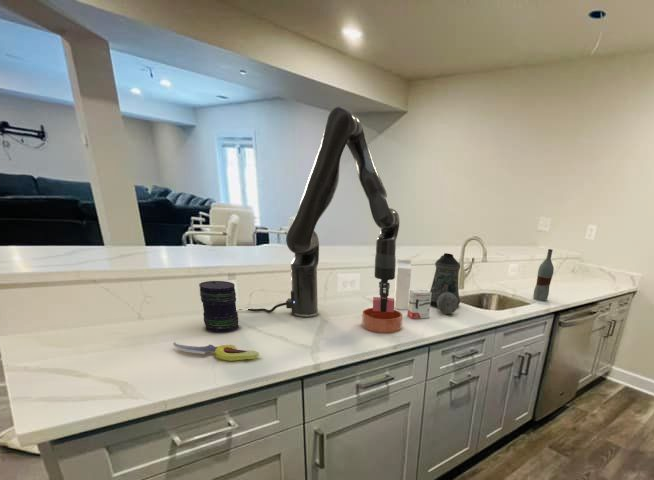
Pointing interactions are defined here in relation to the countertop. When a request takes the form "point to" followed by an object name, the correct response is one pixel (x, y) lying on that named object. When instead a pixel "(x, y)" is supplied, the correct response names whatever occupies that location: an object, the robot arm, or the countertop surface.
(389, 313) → the bowl
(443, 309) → the decorative ball
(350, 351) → the countertop surface
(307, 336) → the countertop surface
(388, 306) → the eraser
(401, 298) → the milk
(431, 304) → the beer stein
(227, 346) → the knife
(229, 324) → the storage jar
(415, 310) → the ink box
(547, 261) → the bottle
